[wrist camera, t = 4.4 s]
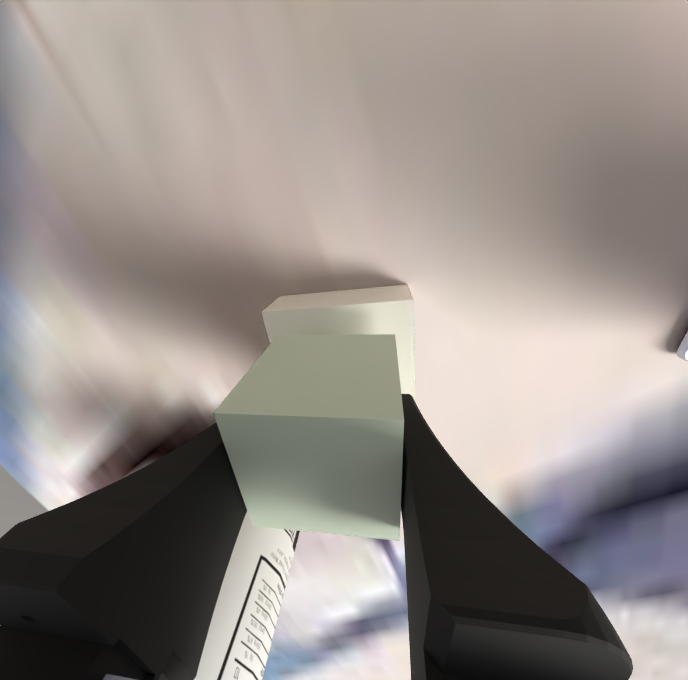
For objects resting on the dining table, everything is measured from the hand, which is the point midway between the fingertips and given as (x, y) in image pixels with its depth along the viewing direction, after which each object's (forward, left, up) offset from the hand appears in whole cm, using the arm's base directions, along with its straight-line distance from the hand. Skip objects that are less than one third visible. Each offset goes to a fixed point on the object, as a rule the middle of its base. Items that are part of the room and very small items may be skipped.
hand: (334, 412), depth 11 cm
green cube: (0, 0, -2) cm, 2 cm away
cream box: (0, 0, -6) cm, 6 cm away
